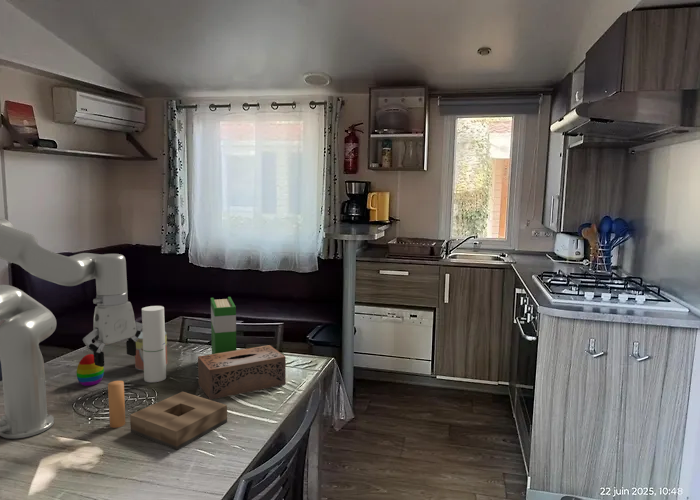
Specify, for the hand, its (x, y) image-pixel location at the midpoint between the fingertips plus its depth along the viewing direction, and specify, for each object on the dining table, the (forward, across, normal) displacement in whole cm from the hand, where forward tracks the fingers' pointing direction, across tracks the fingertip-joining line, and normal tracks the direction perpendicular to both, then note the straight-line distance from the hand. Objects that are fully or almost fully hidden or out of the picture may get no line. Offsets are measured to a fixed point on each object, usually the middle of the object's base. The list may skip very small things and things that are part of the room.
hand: (116, 360), depth 135 cm
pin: (+19, 0, 0) cm, 19 cm away
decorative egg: (+19, +14, +34) cm, 41 cm away
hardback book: (+19, +51, +9) cm, 55 cm away
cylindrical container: (+19, +28, +19) cm, 39 cm away
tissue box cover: (+20, +40, -10) cm, 45 cm away
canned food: (+19, +36, +31) cm, 51 cm away
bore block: (+19, +8, -16) cm, 26 cm away
